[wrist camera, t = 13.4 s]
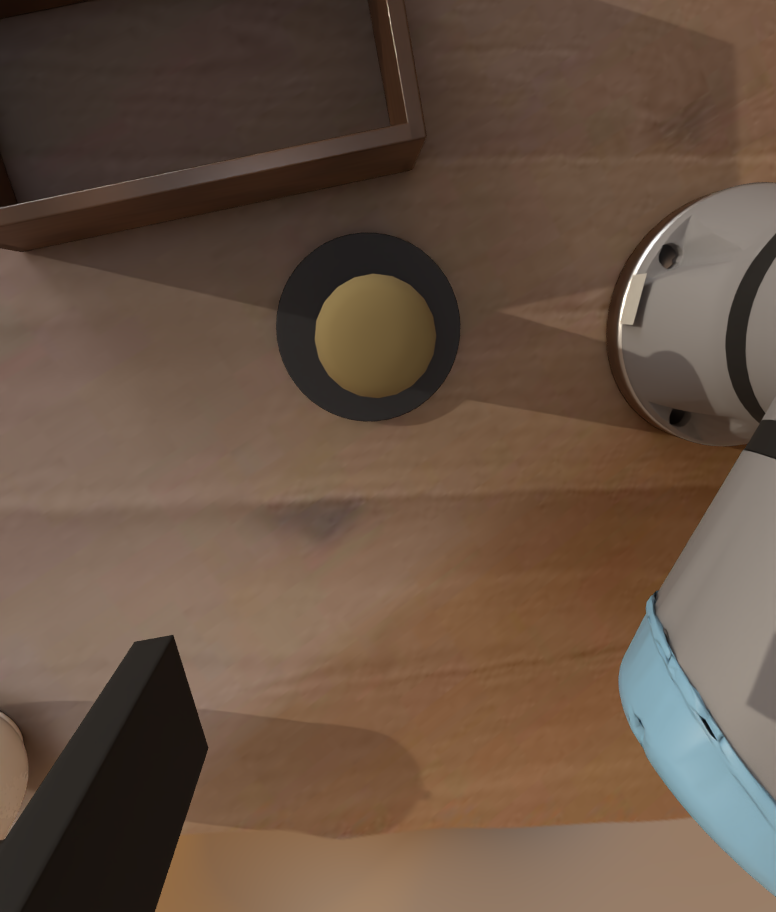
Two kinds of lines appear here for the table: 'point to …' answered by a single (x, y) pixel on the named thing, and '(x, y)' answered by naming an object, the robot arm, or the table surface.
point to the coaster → (317, 284)
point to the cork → (375, 335)
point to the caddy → (232, 160)
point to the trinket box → (11, 772)
